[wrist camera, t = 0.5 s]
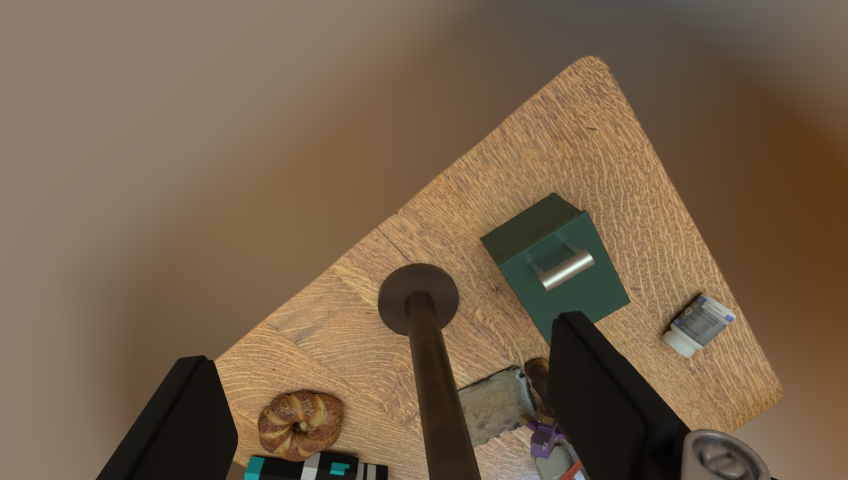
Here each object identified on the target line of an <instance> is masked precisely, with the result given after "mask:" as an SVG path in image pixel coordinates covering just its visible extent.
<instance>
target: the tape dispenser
mask: <svg viewBox="0 0 848 480" xmlns="http://www.w3.org/2000/svg"><path fill="white" fill-rule="evenodd" d="M536 468H537V472H538V474H539V477H540V479H541V480H575V479H574V477H575V474H576V473H577V472H578V471H579V470H581V472H582V474H583V476H584V478H585V480H591V479H590V478H589V476H588V474H587V472H586V470H585V468H584V466H583V465H582V463H581V461H580V459H578V461H577V462H576V463H575V464H574V461H573V459H572V457H571V455H570V453H569V451H568V450H567V449H566V448H565V447H563V446H555V447H554V449H552V450H551V453H550V455H549V458H548V460H547V459H543V458H540V457H537V458H536Z"/></svg>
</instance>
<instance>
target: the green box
mask: <svg viewBox="0 0 848 480" xmlns="http://www.w3.org/2000/svg"><path fill="white" fill-rule="evenodd" d="M579 212H581V211H580V210H578V209H577V208H575V207H574V206H573V205H571V204H570V203H568V202H567V201H565V200H564V199H562V198H561V197H560V196H558V195H557V194H555V193H552V194H550V195H549V196H547V197H546V198H544V199H542V200H541V201H539V202H538V203H536V204H534V205H533V206H531V207H530V208H528V209H527V210H525V211H523V212H522V213H520V214H519V215H517V216H515V217H514V218H512V219H511V220H509V221H507V222H506V223H504V224H503V225H501V226H500V227H498V228H496V229H495V230H493V231H492V232H490V233H488V234H487V235H485V236H484V237H482V238H481V241H482V243H483V244H484V246H485V247H486V249H487V250H488V252H489V254H490V255H491V257H492V258H493V260H494V261H495V263H496V264H497V263H498V262H500V261H501V260H503V259H505V258H506V257H508V256H510V255H511V254H513V253H514V252H516V251H518V250H519V249H521V248H523V247H524V246H526V245H527V244H529V243H531V242H532V241H534V240H536V239H537V238H539V237H540V236H542V235H544V234H545V233H547V232H548V231H550V230H552V229H553V228H555V227H557V226H558V225H560V224H561V223H563V222H565V221H566V220H568V219H570V218H571V217H573V216H574V215H576V214H578V213H579Z"/></svg>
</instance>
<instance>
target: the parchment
mask: <svg viewBox="0 0 848 480" xmlns="http://www.w3.org/2000/svg"><path fill="white" fill-rule="evenodd" d="M521 371H522V370H521V369H517V368H515V366H514V367H512V368H509V369H507V370H505V371H503V372H500V373H498V374H496V375H494V376H492V377H489V378H487V379H485V380H483V381H481V382H480V383H479V382H478V383H476V384H474V385H472V386H470V387H468V388H465V389H464V390H461V391H459V392H458V394H459V398H460V402H461V406H462V409H463V413H464V417H465V420H466V424H467V428H468V431H469V435H470V439H471V443H472V446H473V448H474V447H475V446H477V445H481V444H484V443H486V442H488V441H489V439H490V438H493V437H500V436H499V434H500V433H501V432H503V431H504V430H505V429H507V430H508V431H512V430H516V429H517V427H522V426H523V425H524V424H522V423H521V422H520V421H519V420H518V418H519V416H520V415H522V414H525V413H529V414H530V415H531V416H533V417H534V418H535V420H536V421H538V420H540V419H539V417H538V416H537V414H538V412H542V413H544V412H543V411H542V410H541V409H540V408H539V407H538V406H537V405H536V403H535V401H534V400H535V399H536V398H535V397H534V396H533V394H532V393H531V391H530V387H531V386H530V385H529V383H528V382H527V380H528V379H527V378H526V376H525V375H523V374H522V372H521ZM540 421H541V420H540Z"/></svg>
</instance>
